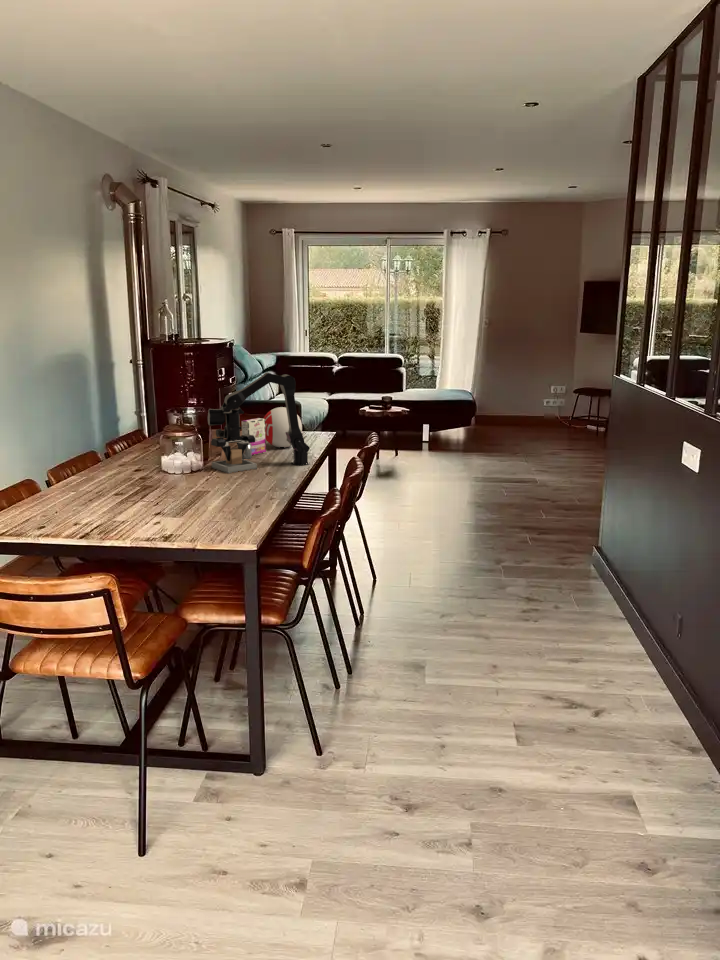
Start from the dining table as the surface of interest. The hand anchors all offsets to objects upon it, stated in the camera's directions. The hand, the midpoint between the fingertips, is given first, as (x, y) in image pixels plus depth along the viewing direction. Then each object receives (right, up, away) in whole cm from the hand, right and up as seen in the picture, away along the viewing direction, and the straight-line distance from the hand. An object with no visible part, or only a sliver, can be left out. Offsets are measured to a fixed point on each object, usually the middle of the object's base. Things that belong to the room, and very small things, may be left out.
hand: (234, 460), depth 318 cm
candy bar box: (+4, +4, +32) cm, 33 cm away
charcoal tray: (0, -3, +1) cm, 4 cm away
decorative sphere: (+16, +8, +49) cm, 52 cm away
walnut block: (0, -1, 0) cm, 1 cm away
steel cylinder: (+2, +1, +21) cm, 21 cm away
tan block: (-5, 0, +14) cm, 15 cm away
